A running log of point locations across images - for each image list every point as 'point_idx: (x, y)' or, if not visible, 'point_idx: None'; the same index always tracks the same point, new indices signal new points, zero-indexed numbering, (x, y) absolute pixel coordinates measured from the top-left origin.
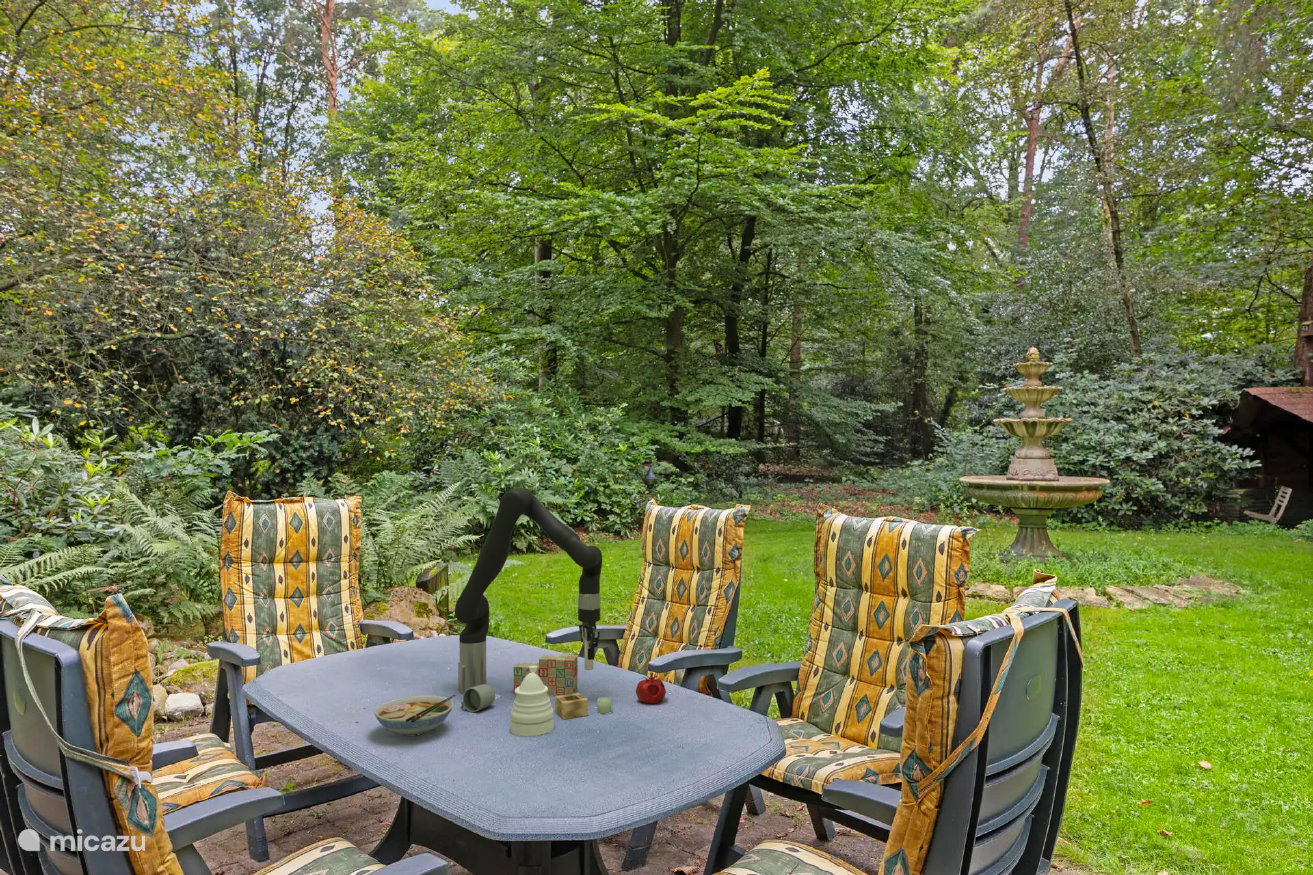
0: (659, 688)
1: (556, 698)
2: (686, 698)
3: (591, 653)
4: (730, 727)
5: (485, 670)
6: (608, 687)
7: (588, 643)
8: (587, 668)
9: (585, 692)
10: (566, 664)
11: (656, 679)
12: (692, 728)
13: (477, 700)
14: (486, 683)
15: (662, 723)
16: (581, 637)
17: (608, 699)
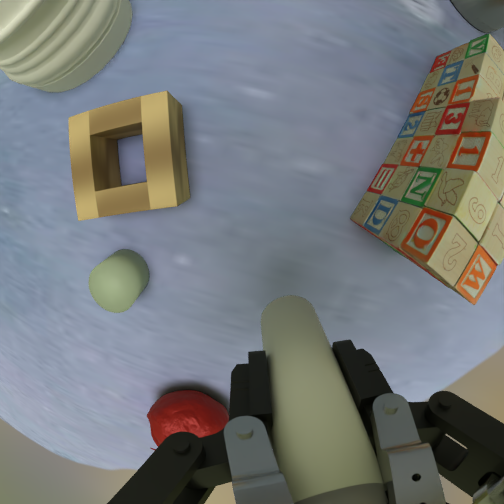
0: (156, 442)
1: (152, 95)
2: None
3: (230, 400)
4: (34, 421)
5: (497, 4)
6: (368, 346)
7: (233, 461)
8: (266, 311)
9: (362, 270)
10: (433, 220)
11: None
12: (22, 383)
13: None
14: (480, 20)
15: (38, 359)
16: (459, 424)
17: (107, 301)
